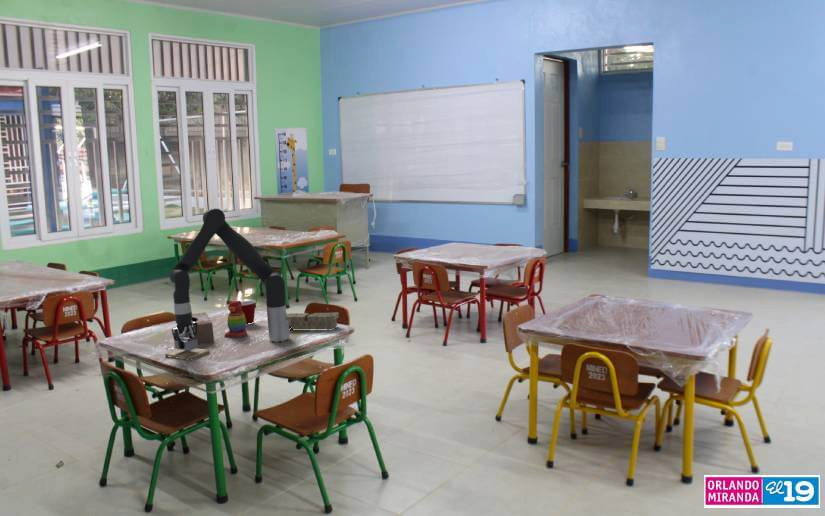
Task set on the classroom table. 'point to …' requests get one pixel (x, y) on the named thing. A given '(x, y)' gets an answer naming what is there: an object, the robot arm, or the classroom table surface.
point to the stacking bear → (236, 320)
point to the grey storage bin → (188, 344)
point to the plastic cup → (248, 310)
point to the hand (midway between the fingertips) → (186, 346)
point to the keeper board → (188, 353)
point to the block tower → (312, 320)
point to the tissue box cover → (202, 328)
